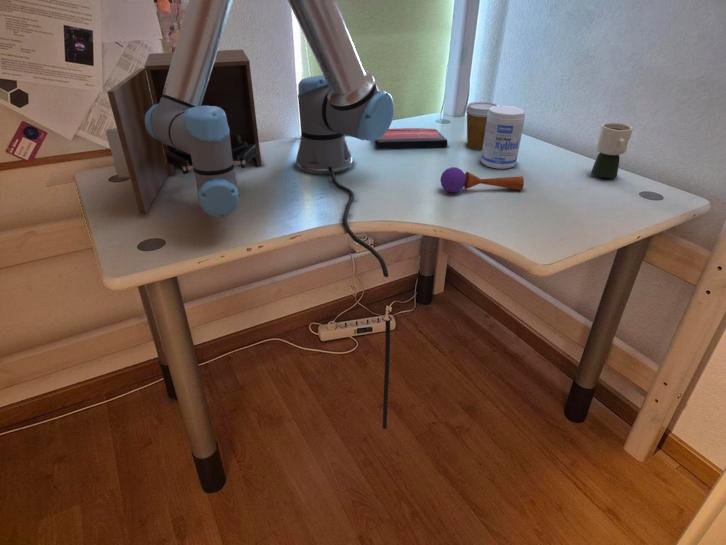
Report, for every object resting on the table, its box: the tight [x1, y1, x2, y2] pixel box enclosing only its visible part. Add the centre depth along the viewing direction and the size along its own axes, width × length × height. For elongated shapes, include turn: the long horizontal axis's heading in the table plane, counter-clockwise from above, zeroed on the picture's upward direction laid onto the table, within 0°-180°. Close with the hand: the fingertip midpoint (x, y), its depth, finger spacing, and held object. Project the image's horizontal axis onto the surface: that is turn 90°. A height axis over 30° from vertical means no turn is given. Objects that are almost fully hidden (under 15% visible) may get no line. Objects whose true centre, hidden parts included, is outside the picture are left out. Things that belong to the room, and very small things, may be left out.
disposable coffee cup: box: [465, 101, 498, 150], centre depth 146 cm, size 10×10×12 cm
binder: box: [375, 127, 448, 150], centre depth 153 cm, size 16×2×21 cm
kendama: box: [439, 166, 525, 193], centre depth 119 cm, size 6×6×20 cm
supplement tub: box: [480, 105, 526, 170], centre depth 132 cm, size 10×10×15 cm
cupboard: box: [104, 49, 262, 215], centre depth 121 cm, size 41×32×27 cm
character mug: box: [590, 122, 633, 179], centre depth 125 cm, size 11×7×13 cm, turn 179°
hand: (211, 143), depth 122 cm, fingers open, 13 cm apart
